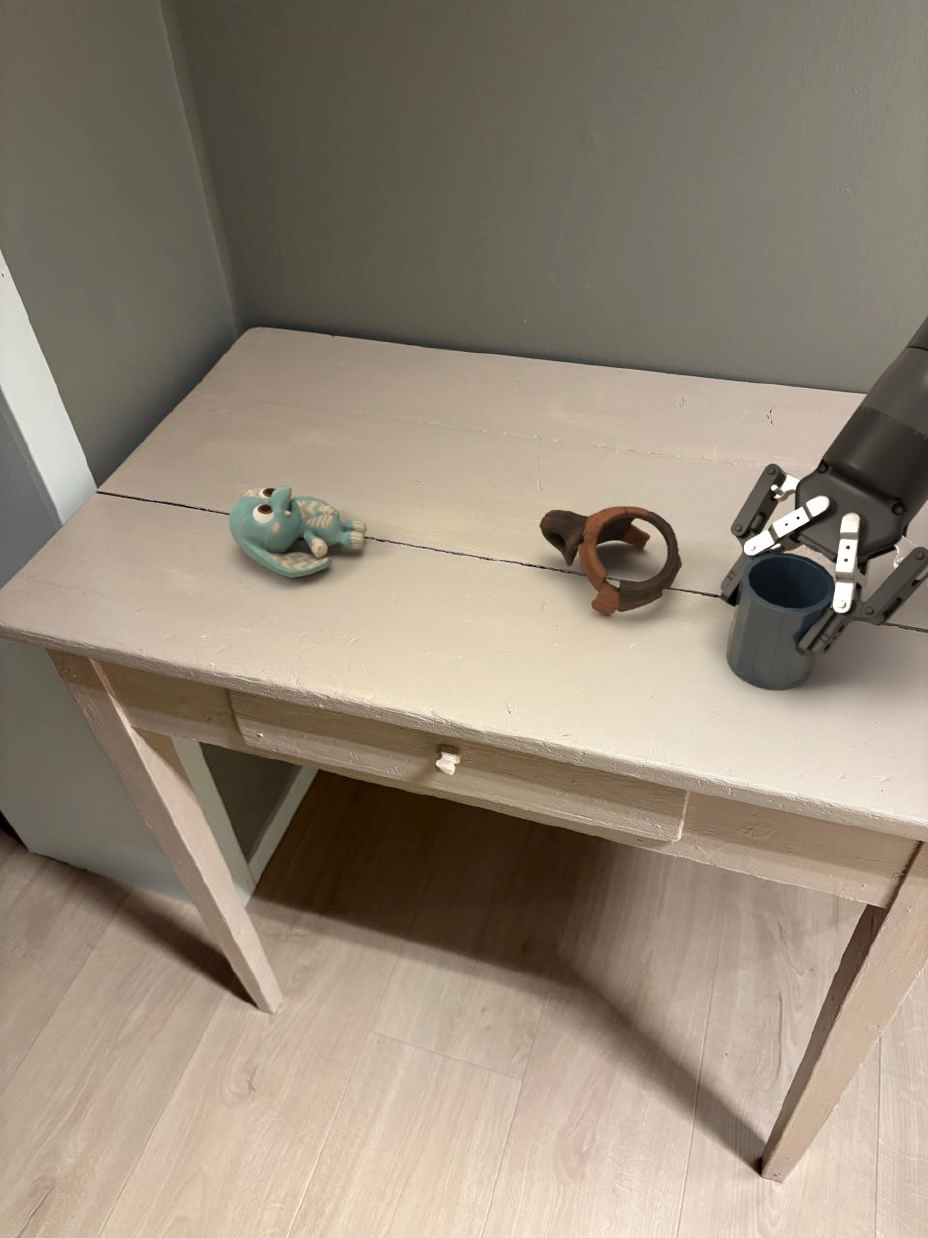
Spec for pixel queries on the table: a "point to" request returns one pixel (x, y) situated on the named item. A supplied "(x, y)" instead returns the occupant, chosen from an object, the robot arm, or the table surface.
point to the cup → (776, 618)
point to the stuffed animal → (290, 530)
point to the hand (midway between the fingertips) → (764, 628)
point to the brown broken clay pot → (601, 527)
